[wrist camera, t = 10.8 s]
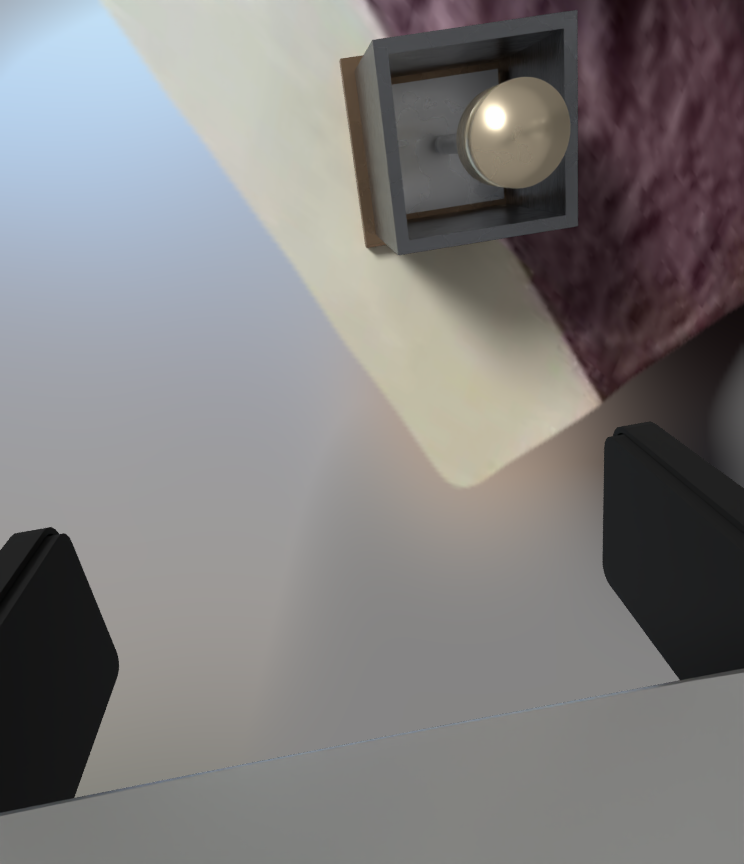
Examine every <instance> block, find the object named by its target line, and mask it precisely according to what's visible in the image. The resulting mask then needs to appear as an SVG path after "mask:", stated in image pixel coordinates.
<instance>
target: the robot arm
mask: <svg viewBox="0 0 744 864" xmlns="http://www.w3.org/2000/svg"><path fill="white" fill-rule="evenodd" d="M603 510H604V512H603V569H604V573H605V576H606V579H607V581H608V583H609V584H610V586H611V587H612V589H613V590H614V591H615V592H616V594H617V595H618V597H619V598H620V599H621V601H622V602H623V603H624V605H625V606H626V608H627V609H628V610H629V612H630V613H631V614H632V616H633V617H634V618H635V620H636V621H637V622H638V624H639V625H640V627H641V628H642V629H643V630H644V632H645V633H646V635H647V636H648V637H649V639H650V640H651V641H652V643H653V644H654V646H655V647H656V648H657V650H658V651H659V652H660V653H661V655H662V656H663V657H664V659H665V660H666V662H667V663H668V664H669V666H670V667H671V669H672V670H673V671H674V673H675V674H676V675H677V676H678V678H679V679H680V680H679V681H674V682H669V683H664V684H658V685H653V686H648V687H643V688H637V689H632V690H627V691H621V692H616V693H611V694H606V695H600V696H595V697H590V698H584V699H579V700H574V701H568V702H563V703H558V704H552V705H547V706H542V707H536V708H531V709H526V710H521V711H516V712H510V713H505V714H500V715H495V716H489V717H484V718H479V719H473V720H468V721H463V722H458V723H453V724H448V725H443V726H437V727H432V728H427V729H422V730H416V731H412V732H406V733H401V734H396V735H391V736H385V737H380V738H375V739H370V740H365V741H360V742H355V743H350V744H344V745H340V746H334V747H329V748H324V749H319V750H314V751H309V752H303V753H298V754H293V755H288V756H283V757H278V758H273V759H268V760H263V761H257V762H252V763H247V764H242V765H237V766H232V767H227V768H223V769H217V770H212V771H207V772H202V773H198V774H192V775H187V776H182V777H177V778H172V779H167V780H162V781H157V782H152V783H147V784H142V785H137V786H132V787H127V788H122V789H117V790H112V791H107V792H102V793H97V794H92V795H87V796H82V797H77V798H74V797H75V794H76V791H77V788H78V786H79V783H80V780H81V777H82V774H83V771H84V769H85V766H86V763H87V760H88V757H89V755H90V752H91V749H92V746H93V743H94V740H95V738H96V735H97V732H98V729H99V727H100V724H101V721H102V718H103V715H104V713H105V710H106V707H107V704H108V701H109V698H110V696H111V693H112V690H113V687H114V685H115V682H116V679H117V676H118V671H119V661H118V655H117V652H116V649H115V647H114V644H113V642H112V639H111V637H110V635H109V632H108V630H107V627H106V625H105V622H104V620H103V618H102V615H101V613H100V610H99V608H98V605H97V603H96V600H95V598H94V595H93V593H92V590H91V588H90V586H89V583H88V581H87V578H86V576H85V573H84V571H83V569H82V566H81V564H80V561H79V559H78V556H77V554H76V551H75V549H74V547H73V544H72V542H71V540H70V538H69V537H68V536H67V535H66V534H59V533H58V532H57V531H56V530H55V529H54V528H51V527H49V528H44V529H38V530H32V531H26V532H21V533H15V534H14V535H12V536H11V537H10V539H9V540H8V541H7V543H6V544H5V545H4V547H3V548H2V549H1V550H0V864H744V488H743V487H741V486H740V485H738V484H737V483H736V482H734V481H733V480H732V479H730V478H729V477H727V476H726V475H725V474H723V473H722V472H721V471H719V470H718V469H717V468H715V467H714V466H712V465H711V464H710V463H708V462H707V461H705V460H704V459H703V458H701V457H700V456H699V455H697V454H696V453H695V452H693V451H692V450H690V449H689V448H688V447H686V446H685V445H684V444H682V443H681V442H680V441H678V440H677V439H675V438H674V437H672V436H671V435H670V434H668V433H667V432H666V431H664V430H663V429H662V428H660V427H659V426H658V425H656V424H655V423H653V422H645V423H639V424H634V425H628V426H622V427H617V428H616V430H615V431H614V434H613V436H612V437H608V438H607V439H606V441H605V447H604V506H603Z"/></svg>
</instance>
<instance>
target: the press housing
mask: <svg viewBox="0 0 744 864" xmlns="http://www.w3.org/2000/svg"><path fill="white" fill-rule="evenodd" d="M340 68H341V75H342V83H343V90H344V97H345V104H346V111H347V118H348V125H349V132H350V140H351V147H352V154H353V161H354V168H355V175H356V182H357V189H358V196H359V204H360V211H361V218H362V225H363V232H364V239H365V246H366V248H370V247H376V246H382V245H388V246H389V247H390V248H391V249H392V250H393V251H394V252H395V253H396V254H397V255H403V254H409V253H415V252H421V251H428V250H434V249H440V248H446V247H452V246H458V245H465V244H471V243H477V242H483V241H489V240H496V239H502V238H508V237H514V236H520V235H526V234H533V233H539V232H545V231H551V230H557V229H563V228H570V227H576V226H578V72H577V10H574V11H567V12H560V13H553V14H546V15H540V16H533V17H526V18H519V19H512V20H506V21H499V22H492V23H485V24H478V25H472V26H465V27H458V28H451V29H444V30H438V31H431V32H424V33H417V34H410V35H404V36H397V37H390V38H383V39H377V40H372V42H371V43H370V45H369V47H368V49H367V50H366V52H365V54H364V55H363V56H356V57H349V58H343V59H340ZM493 69H498V83H499V84H501V83H503V82H506V81H508V80H511V79H514V78H518V77H534V78H538V79H541V80H543V81H545V82H547V83H549V84H550V85H552V86H553V87H554V88H555V89H556V90H557V91H558V92H559V93H560V95H561V96H562V98H563V99H564V101H565V104H566V106H567V109H568V112H569V117H570V138H569V143H568V147H567V150H566V152H565V155H564V157H563V158H562V160H561V162H560V163H559V165H558V166H557V168H556V169H555V170H554V171H553V172H552V173H551V174H550V175H549V176H548V177H547V178H545V179H544V180H543V181H541V182H539V183H537V184H535V185H533V186H530V187H526V188H518V189H517V188H505V187H504V199H498V200H492V201H485V202H479V203H473V204H466V205H460V206H454V207H448V208H441V209H435V210H429V211H423V212H416V213H410V214H406V209H405V200H404V191H403V182H402V173H401V164H400V155H399V146H398V137H397V128H396V119H395V110H394V102H393V93H392V85H393V84H400V83H406V82H413V81H420V80H426V79H433V78H440V77H446V76H453V75H460V74H466V73H473V72H480V71H486V70H493Z"/></svg>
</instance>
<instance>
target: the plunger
mask: <svg viewBox="0 0 744 864" xmlns="http://www.w3.org/2000/svg"><path fill="white" fill-rule="evenodd" d="M392 93H393V102H394V110H395V119H396V128H397V137H398V146H399V155H400V164H401V173H402V182H403V191H404V200H405V209H406V214H410V213H416V212H423V211H429V210H435V209H441V208H448V207H454V206H460V205H466V204H473V203H479V202H485V201H492V200H498V199H504V187H505V188H517V189H518V188H526V187H530V186H533V185H535V184H537V183H539V182H541V181H543V180H544V179H545V178H547V177H548V176H549V175H550V174H551V173H552V172H553V171H554V170H555V169H556V168H557V166H558V165H559V163H560V162H561V160H562V158H563V157H564V155H565V152H566V150H567V147H568V143H569V138H570V117H569V112H568V109H567V106H566V104H565V101H564V99H563V98H562V96H561V95H560V93H559V92H558V91H557V90H556V89H555V88H554V87H553V86H552V85H550V84H549V83H547V82H545V81H543V80H541V79H538V78H534V77H518V78H514V79H511V80H508V81H506V82H503V83H501V84H499V83H498V69H493V70H486V71H480V72H473V73H466V74H460V75H453V76H446V77H440V78H433V79H426V80H420V81H413V82H406V83H400V84H393V85H392Z"/></svg>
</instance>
